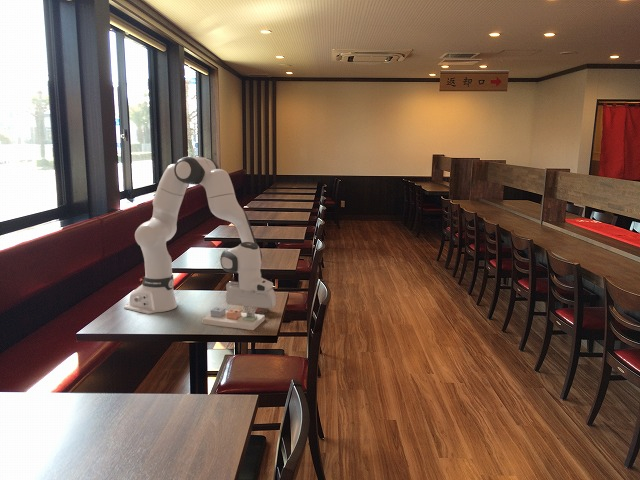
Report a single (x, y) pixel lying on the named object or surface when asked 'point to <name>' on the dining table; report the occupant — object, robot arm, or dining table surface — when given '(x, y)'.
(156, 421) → the dining table surface
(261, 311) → the lighter
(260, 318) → the panel
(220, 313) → the button slate
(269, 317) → the dining table surface
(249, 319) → the button sage
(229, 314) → the button terracotta
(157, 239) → the robot arm
